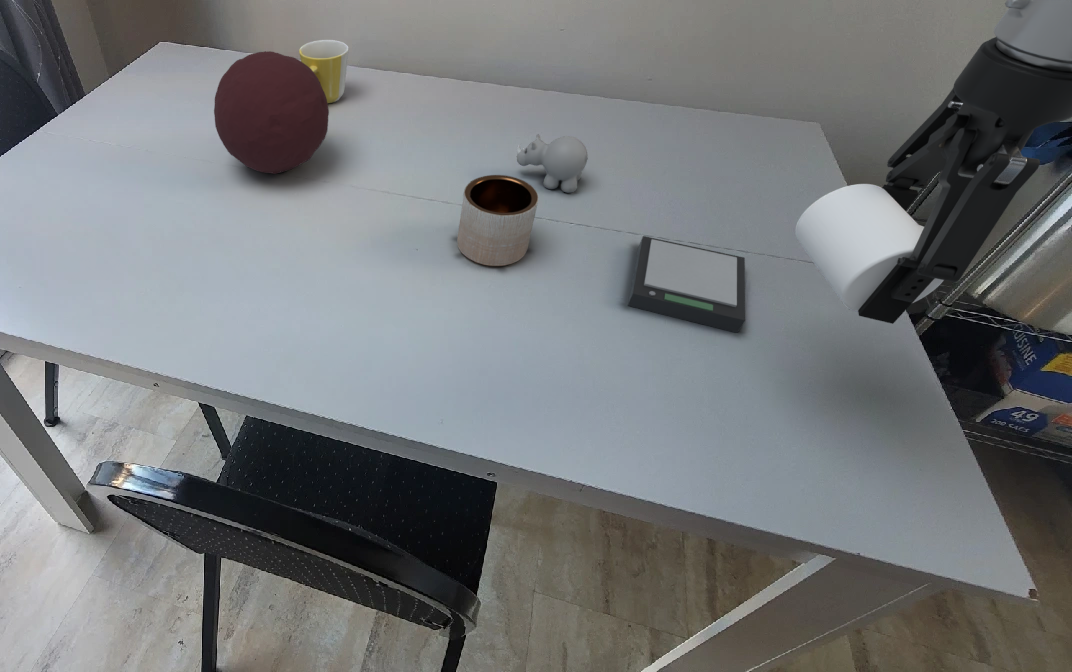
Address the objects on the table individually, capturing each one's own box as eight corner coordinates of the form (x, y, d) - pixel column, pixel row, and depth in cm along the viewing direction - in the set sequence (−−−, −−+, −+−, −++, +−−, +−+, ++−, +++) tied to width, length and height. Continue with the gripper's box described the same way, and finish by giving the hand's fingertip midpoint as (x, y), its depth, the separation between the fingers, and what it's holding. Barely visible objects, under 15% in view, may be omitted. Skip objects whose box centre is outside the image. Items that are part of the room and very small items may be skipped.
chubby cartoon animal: (518, 163, 110) (527, 119, 104) (584, 178, 106) (597, 133, 100) (506, 182, 106) (514, 137, 100) (574, 199, 102) (587, 153, 96)
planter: (444, 253, 93) (450, 200, 86) (475, 218, 99) (483, 166, 92) (509, 278, 88) (521, 225, 81) (537, 239, 95) (550, 187, 88)
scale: (737, 333, 80) (747, 318, 78) (627, 305, 84) (633, 291, 82) (737, 270, 88) (746, 255, 86) (637, 248, 92) (643, 233, 90)
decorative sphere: (235, 139, 119) (215, 34, 105) (334, 138, 118) (328, 32, 104) (216, 195, 106) (191, 83, 91) (328, 195, 105) (320, 81, 90)
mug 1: (322, 83, 136) (319, 35, 128) (359, 94, 132) (358, 45, 124) (283, 107, 128) (278, 57, 121) (321, 119, 124) (318, 68, 116)
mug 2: (824, 314, 57) (876, 248, 51) (779, 247, 63) (820, 182, 57) (958, 316, 56) (1026, 249, 50) (897, 248, 63) (951, 182, 57)
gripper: (954, -9, 51) (816, 204, 67) (1032, 114, 37) (833, 348, 53) (1065, 1, 49) (895, 219, 65) (1194, 137, 35) (935, 374, 51)
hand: (867, 277), depth 59 cm, fingers closed on mug 2, 11 cm apart
